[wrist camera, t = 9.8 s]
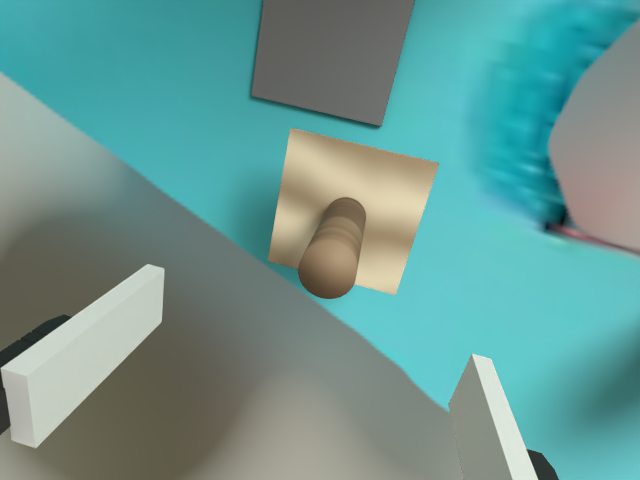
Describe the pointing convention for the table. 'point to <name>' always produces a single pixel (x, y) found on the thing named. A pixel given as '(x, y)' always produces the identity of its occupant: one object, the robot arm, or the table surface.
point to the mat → (331, 54)
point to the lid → (347, 213)
